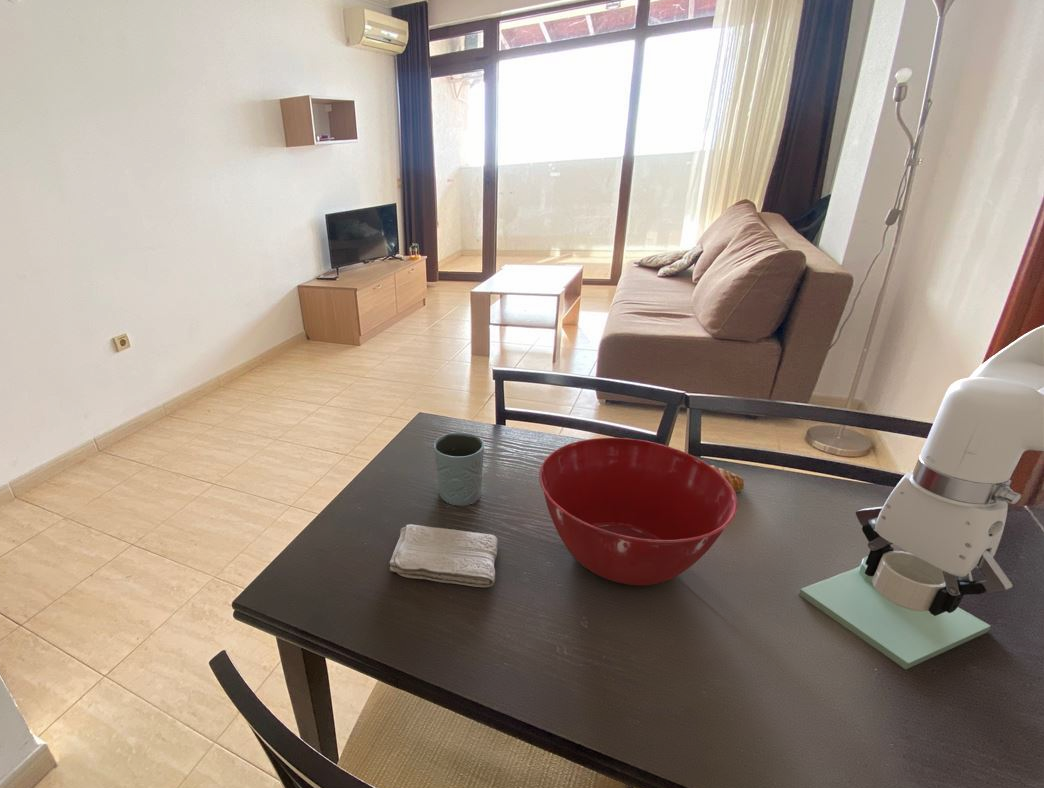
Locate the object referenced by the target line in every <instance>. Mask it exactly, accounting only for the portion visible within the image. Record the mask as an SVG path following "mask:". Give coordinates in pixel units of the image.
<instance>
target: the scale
mask: <svg viewBox="0 0 1044 788" xmlns="http://www.w3.org/2000/svg"><path fill="white" fill-rule="evenodd" d="M867 558H868V556H865V557H863V558H862V559H861V562H860V565H859V566H858V567H855V568H853V569H850V570H848V571H845V572H842V573H839V574H837V575H835V576H832V577H829V578H826V579H824V580H821V581H819V582H818V581H817V582H816V583H813V584H810V585H808V586H805V587H803V588H800V590H799V593H798V595H799V596H800V597H801V598H803V599H804V600H806V601H807V602H809V603H810V604H812V605H813V606H814V607H815V608H817V609H819V610H820V611H821V612H823V613H824V614H826V615H827V616H829V617H830V618H832V619H833V620H834V621H835V622H837V623H839V625H841V626H843V627H844V628H846V629H847V630H849V631H850V632H851V633H853V634H854V635H856V636H857V637H858V638H859V639H861V640H863V641H864V642H866V643H867V644H869V645H870V646H871V647H873V648H874V649H876V650H877V651H878V652H880V653H881V654H883V655H884V656H886V657H887V658H889V660H891V661H892V662H894V663H895V664H897V665H898V666H900V667H901V668H903V669H904V670H908V669H910V668H913V667H914V666H917V665H919V664H921V663H923V662H926V661H928V660H930V659H932V658H935V657H936V656H939V655H941V654H943V653H945V652H948V651H949V650H952V649H954V648H956V647H958V646H961V645H963V644H964V643H967V642H969V641H971V640H974V639H976V638H978V637H980V636H982V635H985V634H987V633H989V631H990V630H991V627H992V626H991V624H989V623H987V622H985V621H983V620H982V619H980V618H978V617H976V616H975V615H973V614H971V613H969V612H968V611H966V610H964V609H962V608H960V607H959V606H958V607H957V609H956V610H955V611H953V612H951V613H948V612H944V613H941V614H939V615H937V616H934V615H932V614H931V613H930V611H915V610H910V609H906V608H903V607H901V606H898V605H896V604H894V603H892V602H890V601H889V600H887V599H885V598H884V597H883V596H882V595H881V594H880V593H879V592H878V591H877V590H876V589H875V588H874V586H873V583H872V579H873V577H874V576H868V575H866V574H865V571H866V568H867V566H868V565H866V560H867Z"/></svg>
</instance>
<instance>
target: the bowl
mask: <svg viewBox="0 0 1044 788" xmlns="http://www.w3.org/2000/svg"><path fill="white" fill-rule="evenodd" d="M872 583H873V586H874V588H875V589H876V590H877V591H878V592H879V593H880V594H881V595H882V596H883V597H884V598H885V599H887V600H889V601H890V602H892V603H894V604H896V605H898V606H901V607H903V608H906V609H910V610H915V611H929V609H930V607H931V605H932V603H933V601H934V599H935V597H936V595H937V593H938V591H939V590H940V589H942V588H945V587H946V585H945V580H944V575H943V570H941V569H939V568H937V567H935V566H933V565H931V564H930V563H928V562H926V561H924V560H922V559H920V558H918V557H916V556H915V555H913V554H911V553H909V552H907V551H904V550H893V551H889V552H887V553H884V554H883V556H882V558H881V560H880V562H879V565H878V567H877V570H876V572H875V574H874V577H873V579H872Z"/></svg>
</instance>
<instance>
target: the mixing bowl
mask: <svg viewBox="0 0 1044 788" xmlns="http://www.w3.org/2000/svg"><path fill="white" fill-rule="evenodd" d="M711 466H712V465H710V464H709V463H707V462H705V461H704V460H702V459H700V458H698V457H696V456H694V455H692V454H690V453H688V452H685V451H683V450H681V449H677V448H675V447H672V446H668V445H666V444H661V443H657V442H653V441H649V440H643V439H636V438H629V437H628V438H627V437H597V438H596V437H595V438H589V439H583V440H577V441H574V442H571V443H568V444H565V445H563V446H561V447H559V448H557V449H555V450H554V451H553V452H551V453H550V454H549V455H547V456H546V458H545V459H544V460H543V461H542V463H541V465H540V468H539V472H538V480H539V484H540V487H541V490H542V492H543V495H544V499H545V503H546V507H547V511H548V512H549V515H550V518H551V520H552V523H553V525H554V528H555V530H556V532H557V534H558V535H559V538H560V539H561V542H562V543H563V544H564V546H565V548H566V549H567V550H568V552H569V553H570V554H571V556H572V557H573V558H574V559H575V560H576V561H577V562H578V563H579V564H581V565H582V566H583V567H584V568H585V569H587V570H588V571H591V573H593V574H595V575H596V576H599V577H601V578H603V579H606V580H608V581H611V582H615V583H619V584H621V585H623V584H624V585H630V586H651V585H657V584H661V583H665V582H667V581H670V580H673V579H674V578H676V577H678V576H679V575H681V574H682V573H684V572H685V571H687V570H689V568H691V567H692V566H694V565H695V564H696V563H697V562H698V561H699V560H700V559H701V558H702V557H703V556H705V554H706V553H707V552H708V551H709V550H710V548H711V547H712V546H714V544H715V543H716V542H717V540H718V539H719V537H720V536H721V534H722V533H723V532H724V530H725V529H726V528H727V527H728V526H729V525H730V524H731V523H732V522H733V520H734V518H735V517H736V514H737V512H738V503H739V502H738V497H737V494H736V492H734V490H733V488H732V486H731V485H730V483H729V482H728V481H727V480H726V479H725V478H724V476H723V475H721V474H720V473H719V472H718V471H717V470H715V469H714V468H713V467H711Z"/></svg>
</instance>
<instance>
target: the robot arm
mask: <svg viewBox="0 0 1044 788" xmlns="http://www.w3.org/2000/svg"><path fill="white" fill-rule="evenodd" d="M1027 451H1038V452H1044V324H1043V325H1041V326H1039V327H1036V328H1034V329H1032V330H1030V331H1028V332H1027V333H1025V334H1023V335H1022V336H1020V337H1019V338H1017V339H1016V340H1014V341H1013V342H1011V343H1010V344H1009V345H1006V347H1004V348H1003V349H1001V350H1000V351H998V352H997V353H996V354H994V355H993V356H991V357H989V359H987V360H986V361H985V362H983V363H982V364H981V365H979V367H978V368H977V369H976V370H975V371H973V372H972V374H971V375H970V376H969V377H967V378H961V379H958V380H956V381H955V382H953V383H952V384H951V385H950V386H949V387H948V388H947V389H946V392H945V395H944V396H943V398H942V401H941V403H940V406H939V408H938V411H937V413H936V416H935V419H934V420H933V423H932V426H931V428H930V430H929V432H928V435H927V437H926V439H925V443H924V445H923V447H922V449H921V452H920V454H919V456H918V459H917V461H916V463H915V466H914V468H913V469H912V470H910V471H908V472H905V474H904V476H903V477H902V478H901V479H900V480H899V482H897V484H896V486H895V487H894V488H893V490H891V492H890V494H889V495H888V498H887V499H886V500H885V502H884V505H883V506H875V507H867V508H862V509H859V510H856V511H855V517H856V518H857V520H858V522H859V524H860V525H861V526H862V527H861V531H862V533H863V535H864V536H865V538H866V540H867V541H868V543H867V547H868V550H870V551H869V553H868V555H867V557H868V558H867V560H866V565H868V566H867V568H866V571H865V574H866V575H868V576H874V574H875V572H876V570H877V567H878V565H879V562H880V560H881V558H882V556H883V554H884V553H887V552H889V551H894V549H895V548H894V547H892V545H894V546H895V547H898V548H900V549H901V550H902V551H904V552H909V553H911V554H913V555H915V556H916V557H918V558H920V559H922V560H924V561H926V562H928V563H930V564H931V565H933V566H935V567H937V568H939V569H941V570H943V575H944V580H945V585H946V587H945V588H942V589H940V590H939V591H938V593H937V595H936V597H935V599H934V601H933V603H932V605H931V607H930V609H929V611H930V613H931V614H932V615H934V616H937V615H939V614H941V613H944V612H948V613H951V612H953V611H955V610H956V609H957V607H959V605H960V604H961V601H962V600H963V598H964V596H965V595H966V596H967V595H982V594H992V593H1003V592H1007V591H1008V590H1011V589H1012V588H1013V584H1012V582H1011V581H1010V579H1009V578H1008V576H1007V575H1006V574H1005V572H1004V570H1003V569H1002V567H1000V565H999V564H998V562H997V561H996V559H995V558H994V557H995V555H996V552H997V550H998V547H999V545H1000V542H1001V539H1002V537H1003V533H1004V529H1005V525H1006V522H1007V521H1006V520H1007V516H1008V509H1009V507H1008V506H1009V505H1008V504H1011V505H1015V504H1017V503H1018V502H1019V501H1020V499H1021V497H1022V494H1020V493H1018V492H1015V491H1014V490H1013V489H1012V488H1011V486H1010V485H1011V483H1012V480H1011V478H1012V475H1013V473H1014V471H1015V469H1016V468H1017V466H1018V463H1019V462H1020V459H1021V458H1022V455H1023V454H1024V453H1025V452H1027ZM975 568H976V569H979V570H980V572H981V573H982V575H983V576H984V577H985V580H983V579H980V580H979V579H978V580H973V576H972V571H973V570H974V569H975Z"/></svg>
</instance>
